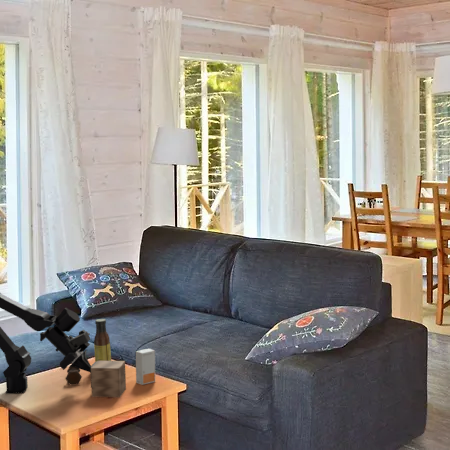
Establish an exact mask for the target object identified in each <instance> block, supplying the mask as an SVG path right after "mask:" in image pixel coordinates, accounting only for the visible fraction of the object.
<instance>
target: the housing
mask: <svg viewBox="0 0 450 450" xmlns="http://www.w3.org/2000/svg"><path fill="white" fill-rule="evenodd" d="M89 373H90V374H89V375H90V376H89V377H90V378H89V379H90V388H91V397H92V398H93V397H94V398H121V397H122V395H123V394H124V393H125V391H126V390H127V386H126V385H127V384H126V382H127V380H126V377H127V376H126V360H111V361H97V362H95V361H94V362H93V364H91V367H90V372H89Z"/></svg>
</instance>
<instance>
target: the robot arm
mask: <svg viewBox="0 0 450 450" xmlns="http://www.w3.org/2000/svg"><path fill="white" fill-rule="evenodd" d="M0 309H1V310H4V311H5V312H7V313H9V314H11V315H13V316H15V317H17V318H19V319H21V320H22V321H24V323H25V324H26V325H27V326H28V327H30V328H31V329H32V330H33V331H36V332H41V333H39V335H40V337H39V340H40V342H42V341H44V340H45V339H47V340H48V341H49V343H51V345H52V346H54V348H55V351H56V352H57V353H58V352H60V353H61V355H63V356H64V357H63V359H62V360H61V361H60V362H59V367H60V368H61V369H62V370H63V371H65V370H66V369H68V366H70V367H71V366H72V367H75V368H79V369H80V370H82V371H85V372H88V373H90V367H91V366H92V364H91V363H90V361H89V359H88V358H87V348H88V347H89V346H90V345H91V344H90V343H89V341H91V337H90V332H88V331H86V330H85V329H82V330H80V331H78V335H76V336H73V335H68V334H67V333H68V332H70V331H72V329H73V328H74V327H75V326H76V325H77V324H78V323H79V322H80V321H81V319H80V315H78V314H77V312H76V311H75V312H74V311H73V310H71V309H69V308H68V307H65V308H64V309H62V310H61V312H60V314H58V315H52V314H50V313H48V312H46V311H43V310H39V309H34V308H30V307H28V306H26V305H24V304H22V303H20V302H18V301H16V300H14V299H12V298H10V297H9V296H6V295H4V294H3V293H1V292H0ZM53 325H54V326H53ZM52 326H53V327H52ZM45 329H46V330H45ZM44 330H45V331H44ZM65 332H67V333H65ZM0 350H1V351H2V353H3V355H4V357H5V361H6V363H7V365H8V366H7V367H6V368H5V370H4V371H2V373H3V376H4V378H5V381H6V383H5V384H6V391H5V393H6V394H24V393H25V392H26V390H27V389H28V388H29V387H28V376H26V375H27V374H26V371H27V370H28V367H30V365H31V364H32V356H31V352H29V351H28V350H27V349H26V347H25V346H24V345H22V346H18V345H16V344H15V343H14V342H13V340H12V339H11V337H9V336H8V334H7V333H6V331H5V330H4V329H3V328H2V327H1V326H0Z"/></svg>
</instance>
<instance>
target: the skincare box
mask: <svg viewBox="0 0 450 450" xmlns="http://www.w3.org/2000/svg"><path fill="white" fill-rule="evenodd" d="M135 382H136V383H137V384H139V385H141V386H143V385H147V384H152V383H156V350H154V349H152V348H145V349H140V350H137V351H135Z"/></svg>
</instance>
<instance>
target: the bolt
mask: <svg viewBox="0 0 450 450" xmlns="http://www.w3.org/2000/svg"><path fill="white" fill-rule="evenodd" d="M68 366H69V367H67V370H66V372H67V375H66V376H65V380H66V381H67V383H68V385H72V386H73V385H79V384H80V381H81V380H82V377H83V376H82V375H81V373H80V372H81V369H79V368H75V367H72V366H71V367H70V365H68Z"/></svg>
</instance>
